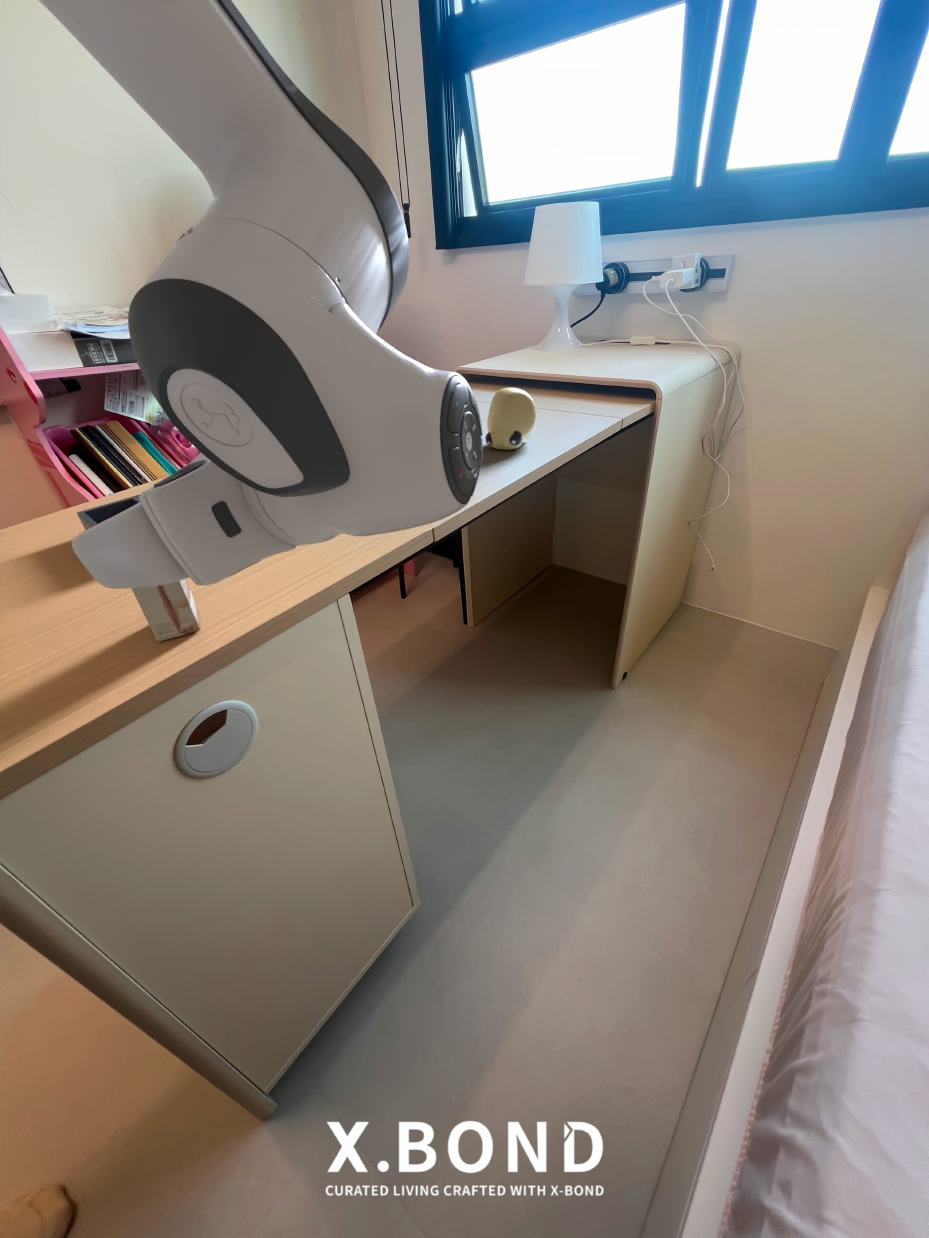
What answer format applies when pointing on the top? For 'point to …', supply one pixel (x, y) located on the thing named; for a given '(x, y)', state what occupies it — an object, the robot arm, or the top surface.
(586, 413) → the top surface
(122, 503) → the compartment tray
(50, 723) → the top surface
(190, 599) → the white rectangular box
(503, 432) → the yellow toy head
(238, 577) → the top surface
